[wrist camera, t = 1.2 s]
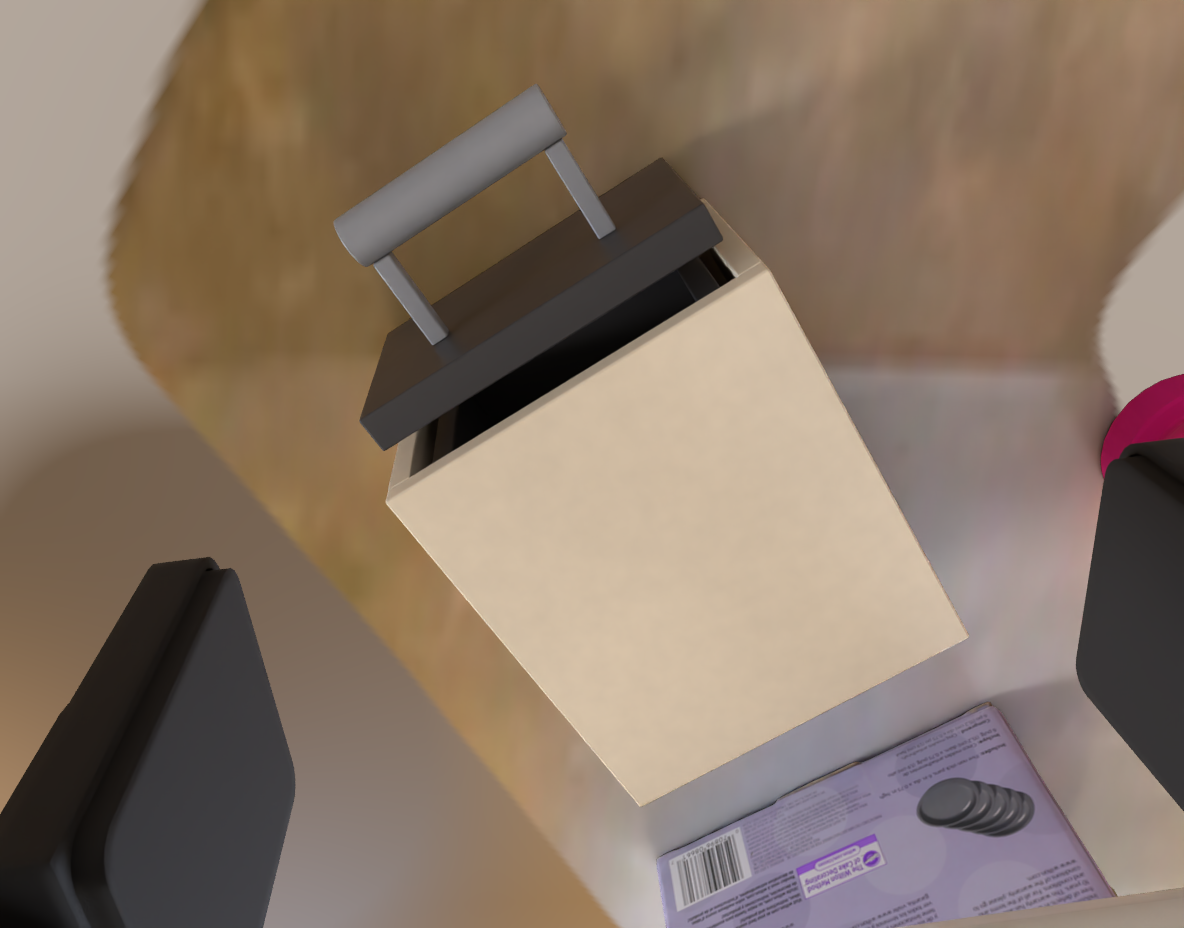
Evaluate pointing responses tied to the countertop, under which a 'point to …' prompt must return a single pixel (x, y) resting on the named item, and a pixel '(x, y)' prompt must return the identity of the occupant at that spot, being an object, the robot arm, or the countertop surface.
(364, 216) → the black drawer
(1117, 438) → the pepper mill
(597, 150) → the countertop surface
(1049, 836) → the cake pan box
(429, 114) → the countertop surface
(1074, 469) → the countertop surface
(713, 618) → the cream drawer cabinet
